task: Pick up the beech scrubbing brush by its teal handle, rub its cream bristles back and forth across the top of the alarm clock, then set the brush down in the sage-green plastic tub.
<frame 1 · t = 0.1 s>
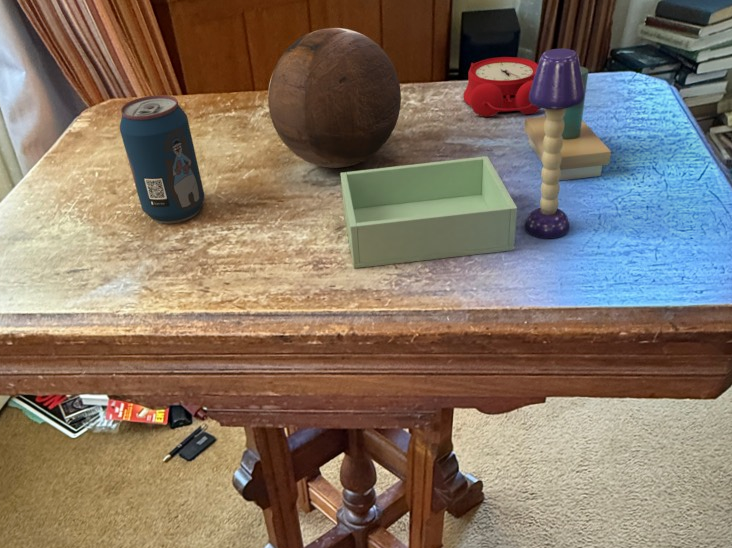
brush: (562, 159, 81), on the table
tub: (423, 229, 72), on the table
wooden sphere: (340, 162, 86), on the table
soda can: (176, 212, 80), on the table
alarm clock: (504, 105, 96), on the table
toy lamp: (543, 228, 71), on the table
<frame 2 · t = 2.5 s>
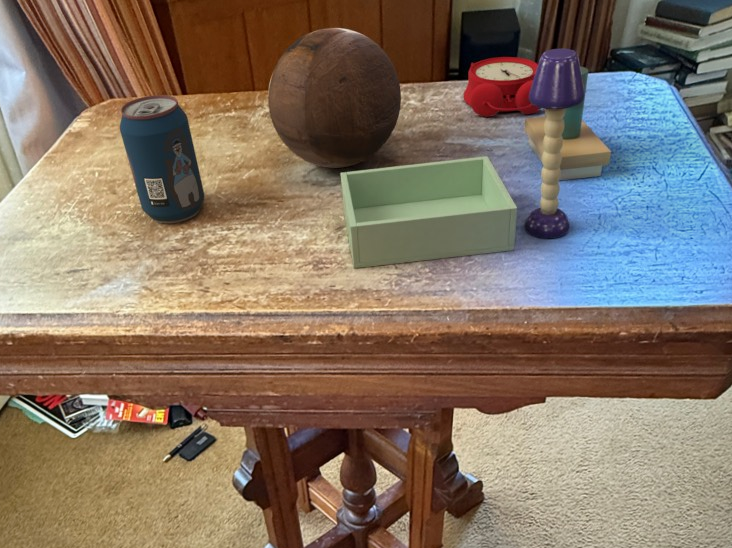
nothing on the table moved.
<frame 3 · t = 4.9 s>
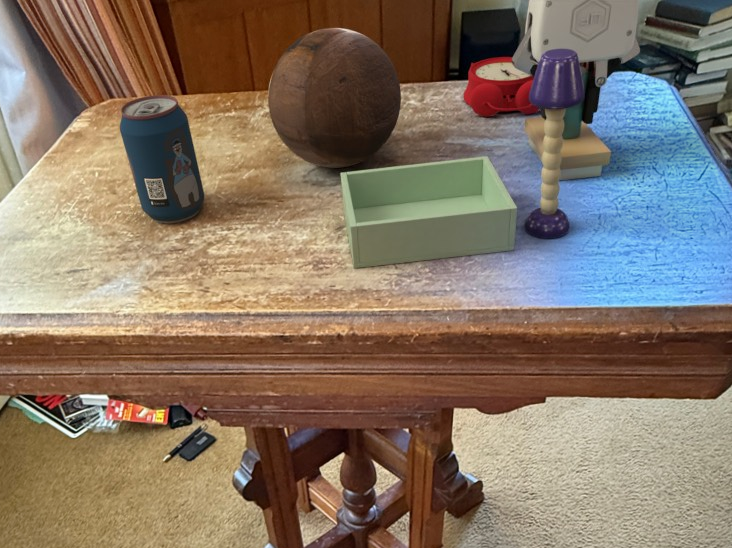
hand: (567, 119, 79), 5 cm above the table, tool pointing down, fingers closed on brush, 3 cm apart
brush: (562, 159, 81), on the table, touching gripper
everything else where it was.
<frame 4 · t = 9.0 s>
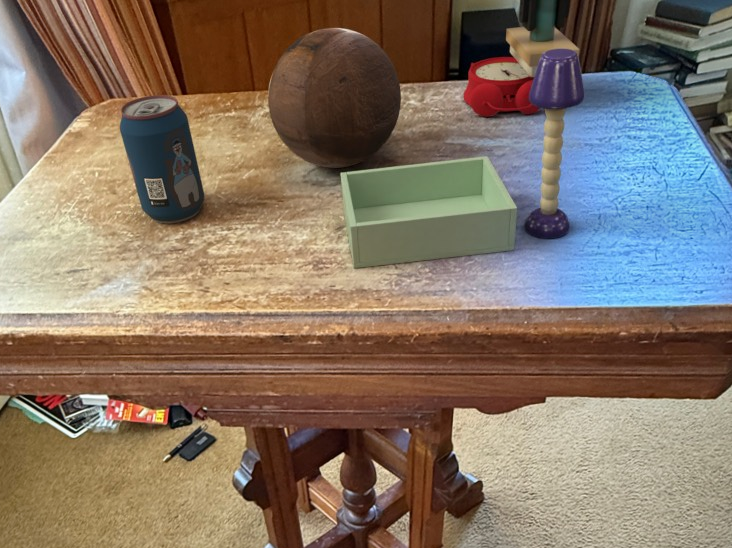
hand: (542, 25, 90), 10 cm above the table, tool pointing down, fingers closed on brush, 3 cm apart
brush: (539, 62, 93), point 5 cm above the table, touching gripper
everything else where it was.
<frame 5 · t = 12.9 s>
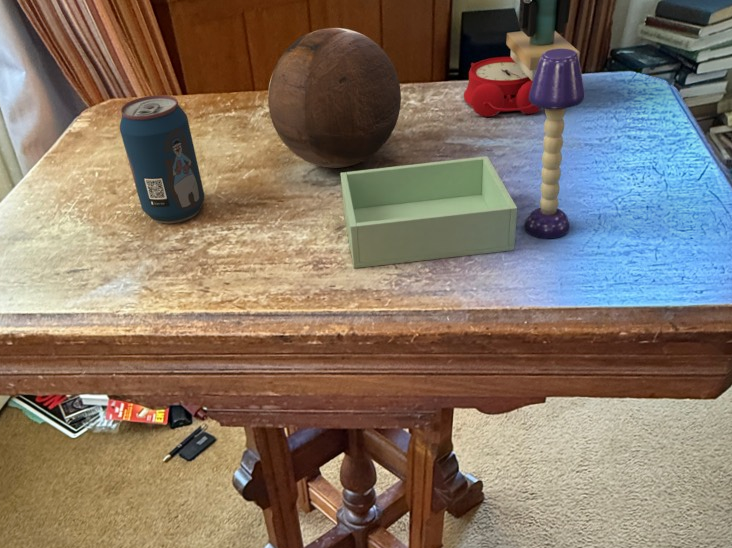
hand: (542, 30, 90), 9 cm above the table, tool pointing down, fingers closed on brush, 3 cm apart
brush: (539, 66, 93), point 5 cm above the table, touching gripper
everything else where it was.
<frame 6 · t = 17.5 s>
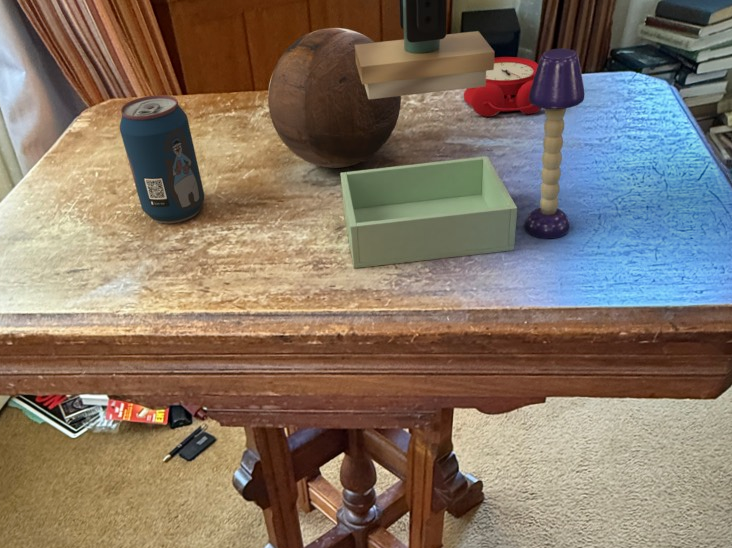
hand: (422, 31, 60), 19 cm above the table, tool pointing down, fingers closed on brush, 3 cm apart
brush: (422, 83, 63), point 15 cm above the table, touching gripper
everything else where it was.
when the fingers open (5 cm above the table, at t = 21.2 s): brush stays where it is, resting on tub.
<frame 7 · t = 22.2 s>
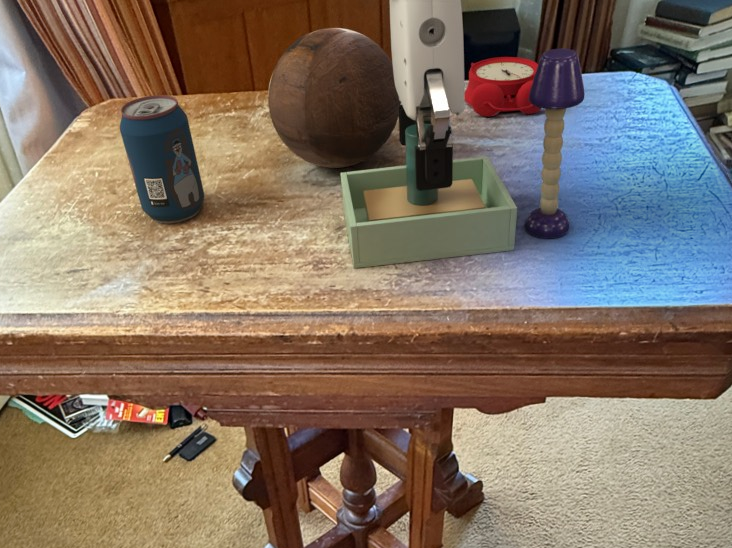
hand: (424, 164, 68), 7 cm above the table, tool pointing down, fingers open, 9 cm apart
brush: (422, 225, 72), resting on tub
everything else where it was.
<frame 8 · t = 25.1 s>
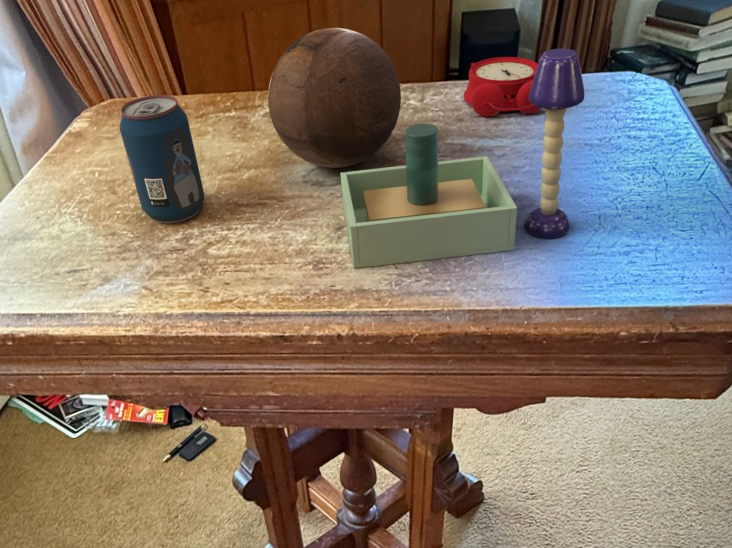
nothing on the table moved.
at the end: brush inside the target area in the tub (0.1 cm from its centre), point 0.5 cm above the tub's base; brush tilted 0°; alarm clock moved 0.2 cm from its start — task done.
